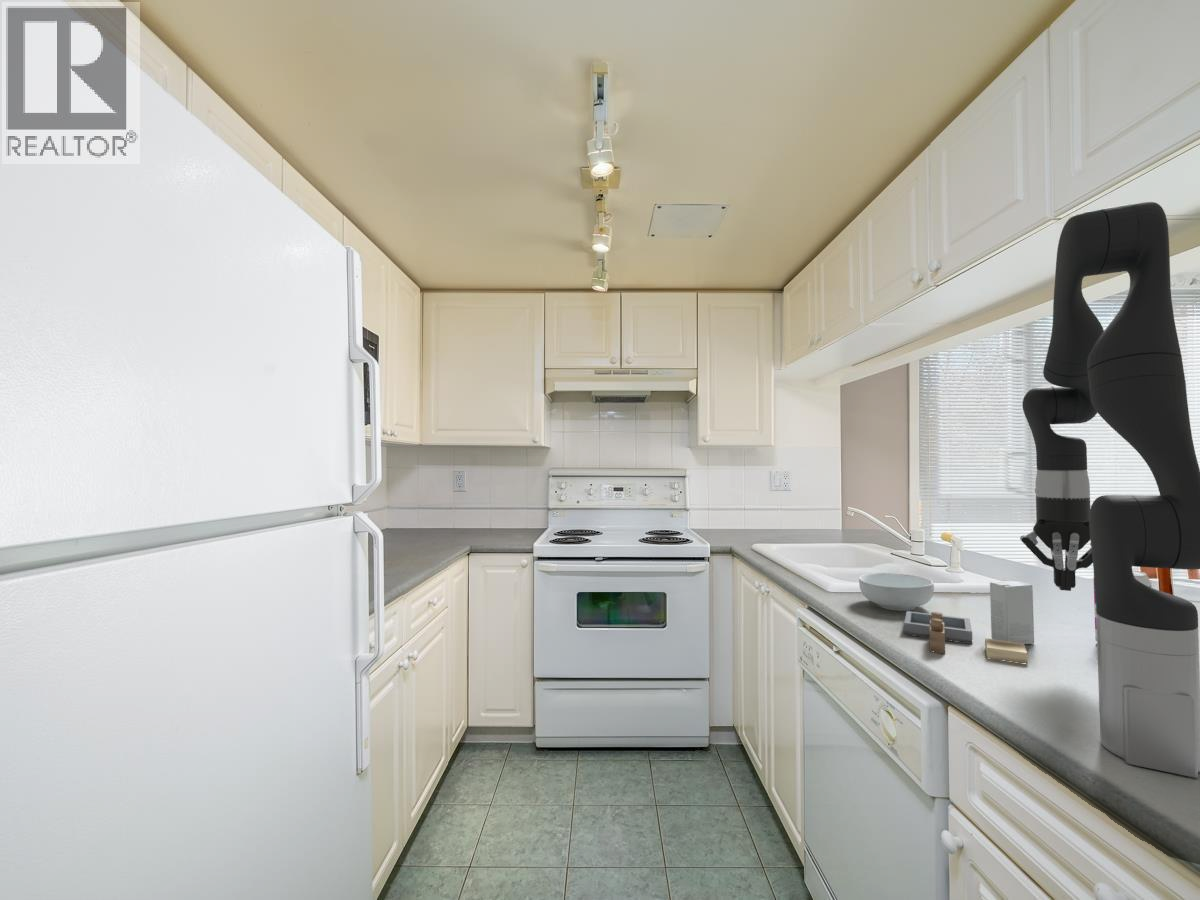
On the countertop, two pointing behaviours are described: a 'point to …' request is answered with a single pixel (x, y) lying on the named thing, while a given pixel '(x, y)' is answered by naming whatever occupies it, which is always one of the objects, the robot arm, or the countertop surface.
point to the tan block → (1006, 650)
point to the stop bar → (937, 633)
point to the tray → (953, 626)
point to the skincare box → (1012, 612)
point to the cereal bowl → (896, 590)
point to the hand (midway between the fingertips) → (1064, 589)
